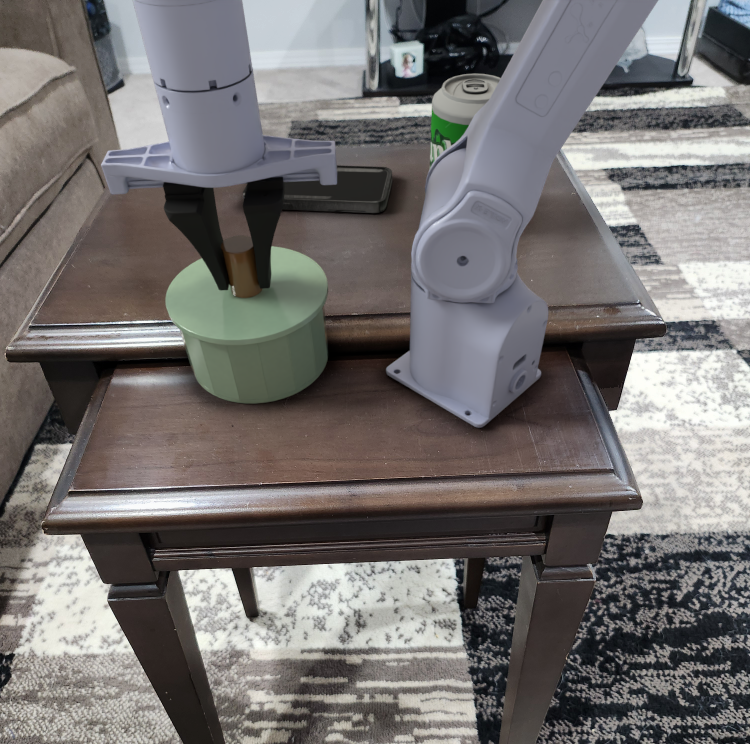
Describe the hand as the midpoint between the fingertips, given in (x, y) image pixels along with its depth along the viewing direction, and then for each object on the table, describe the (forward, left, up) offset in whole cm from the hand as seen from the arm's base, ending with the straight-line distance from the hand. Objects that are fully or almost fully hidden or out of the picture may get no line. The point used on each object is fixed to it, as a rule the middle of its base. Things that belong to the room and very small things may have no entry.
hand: (245, 281), depth 49 cm
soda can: (+1, -28, -7) cm, 29 cm away
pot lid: (0, 0, -1) cm, 1 cm away
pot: (0, 0, -7) cm, 7 cm away
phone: (+16, -22, -7) cm, 28 cm away
